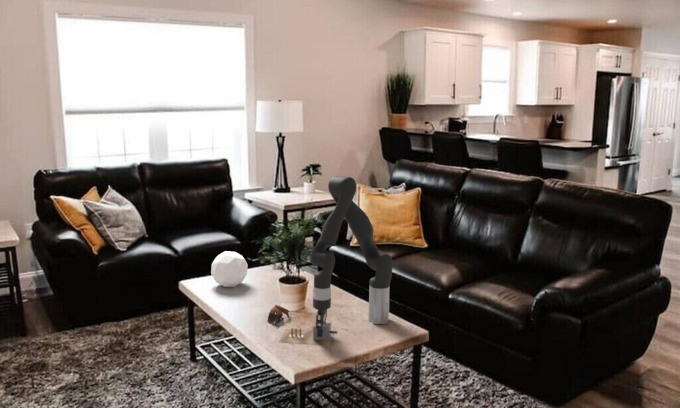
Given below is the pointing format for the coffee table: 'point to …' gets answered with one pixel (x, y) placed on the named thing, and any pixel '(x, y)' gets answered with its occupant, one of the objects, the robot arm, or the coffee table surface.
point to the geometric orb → (229, 269)
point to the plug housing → (326, 332)
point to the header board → (302, 337)
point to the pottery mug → (277, 314)
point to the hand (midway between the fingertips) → (321, 332)
